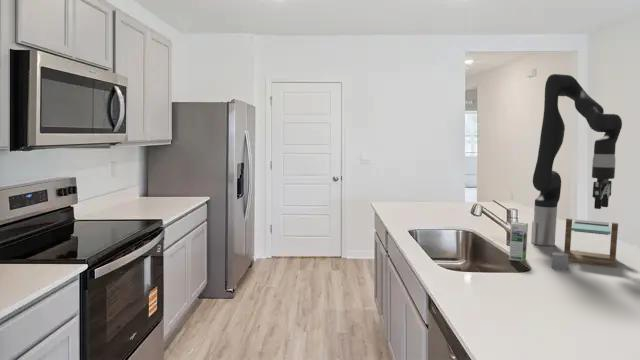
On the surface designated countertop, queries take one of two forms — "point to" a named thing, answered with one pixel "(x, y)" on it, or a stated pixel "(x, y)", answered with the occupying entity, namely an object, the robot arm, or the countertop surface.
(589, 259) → the frame
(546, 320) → the countertop surface
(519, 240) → the syrup box
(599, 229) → the trapdoor
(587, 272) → the countertop surface
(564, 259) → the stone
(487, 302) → the countertop surface
